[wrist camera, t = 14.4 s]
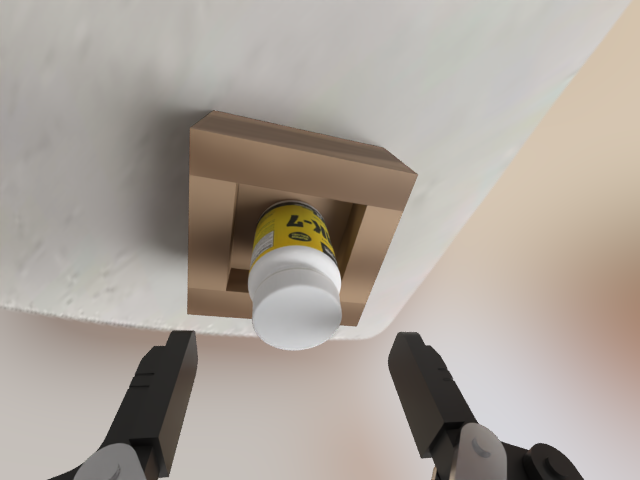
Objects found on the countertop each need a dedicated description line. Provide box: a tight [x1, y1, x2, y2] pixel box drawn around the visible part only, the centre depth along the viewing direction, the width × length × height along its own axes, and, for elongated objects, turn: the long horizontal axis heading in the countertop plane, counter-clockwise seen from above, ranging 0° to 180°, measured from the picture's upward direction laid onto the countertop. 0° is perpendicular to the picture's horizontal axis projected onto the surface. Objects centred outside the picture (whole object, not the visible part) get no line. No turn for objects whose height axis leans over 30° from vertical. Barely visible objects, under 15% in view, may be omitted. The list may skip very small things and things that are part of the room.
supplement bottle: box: [248, 200, 342, 350], centre depth 16 cm, size 5×5×8 cm
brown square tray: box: [187, 110, 418, 326], centre depth 21 cm, size 12×12×6 cm
